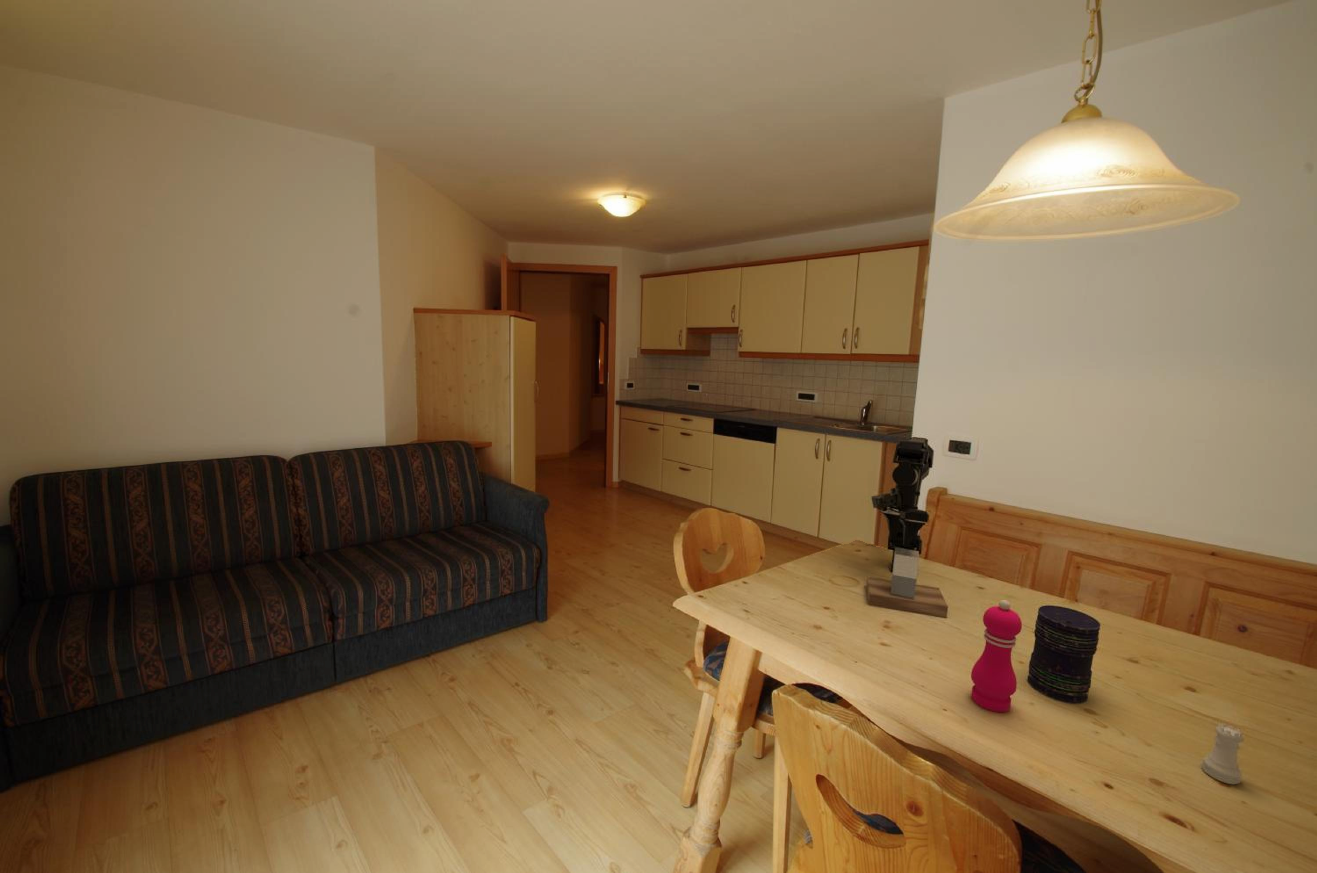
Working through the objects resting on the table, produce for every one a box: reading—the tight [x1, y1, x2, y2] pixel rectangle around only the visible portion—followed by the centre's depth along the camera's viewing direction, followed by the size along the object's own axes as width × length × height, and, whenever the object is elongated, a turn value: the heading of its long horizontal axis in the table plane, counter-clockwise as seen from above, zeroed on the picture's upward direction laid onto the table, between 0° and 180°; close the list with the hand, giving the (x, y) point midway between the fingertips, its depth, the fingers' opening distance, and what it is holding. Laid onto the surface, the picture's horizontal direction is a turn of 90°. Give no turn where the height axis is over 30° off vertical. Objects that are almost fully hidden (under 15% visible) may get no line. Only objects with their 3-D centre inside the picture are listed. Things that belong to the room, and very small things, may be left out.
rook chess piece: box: [1200, 723, 1245, 785], centre depth 86 cm, size 4×4×8 cm
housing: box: [890, 547, 920, 600], centre depth 141 cm, size 6×6×11 cm
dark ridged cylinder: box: [1026, 604, 1101, 705], centre depth 107 cm, size 10×10×15 cm
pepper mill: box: [970, 599, 1023, 713], centre depth 101 cm, size 7×7×20 cm
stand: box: [865, 576, 949, 619], centre depth 144 cm, size 12×18×3 cm, turn 73°
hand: (898, 542), depth 152 cm, fingers open, 9 cm apart
